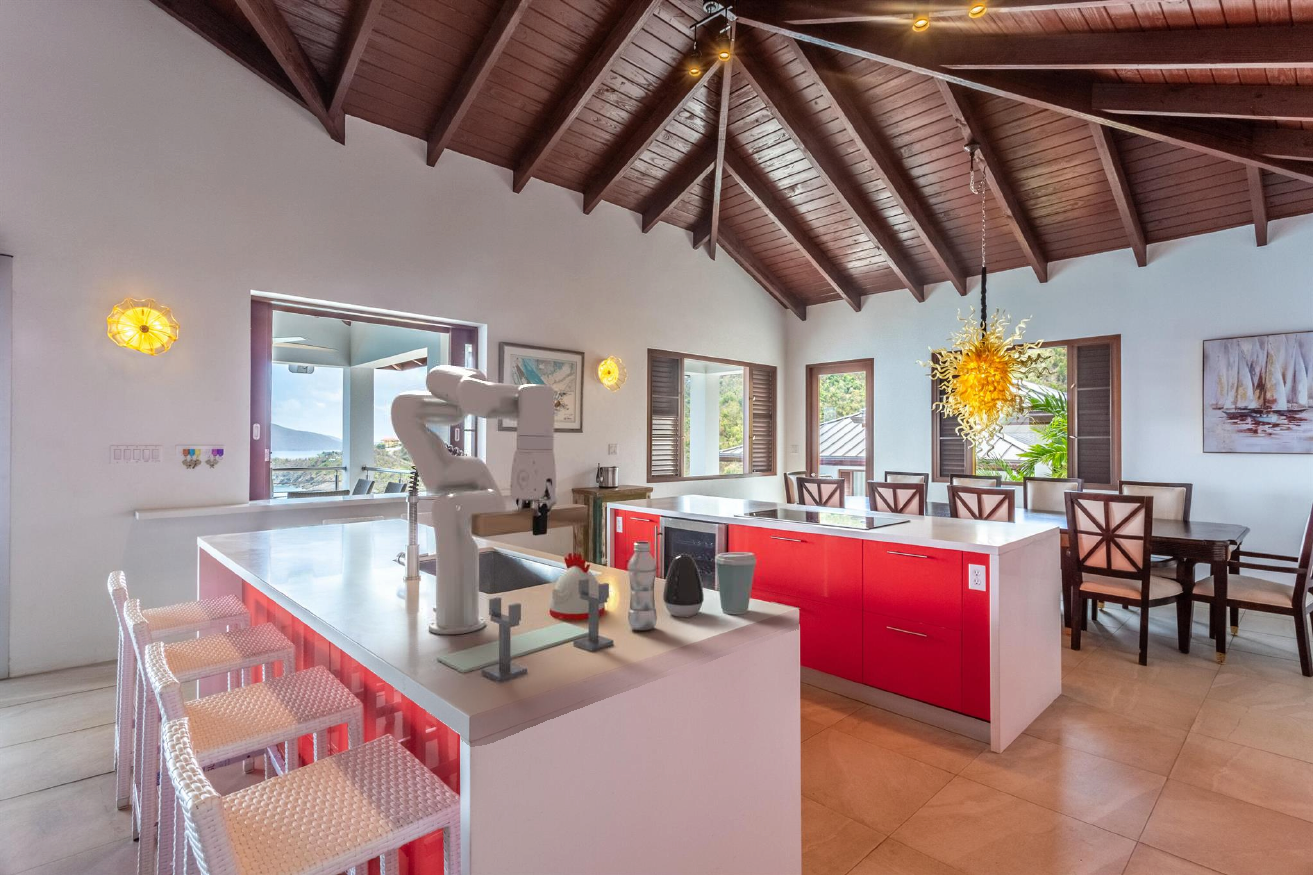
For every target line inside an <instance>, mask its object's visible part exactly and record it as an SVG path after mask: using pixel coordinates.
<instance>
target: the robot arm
mask: <svg viewBox="0 0 1313 875" xmlns="http://www.w3.org/2000/svg"><path fill="white" fill-rule="evenodd" d="M425 377H426V379H425V386H426V388H427V391H424V390H423V391H421V390H414V391H413V390H411V391H406V392H402V393H400V394H398V395H396V396H395V398H394V400H393V401H392V403H391V407H390V420H391V424H392V429H393V431H394V433H395V434H396V436H397V439H398V440H399V441H400V443H401V444H402V445H403V447H404V448H405V449H406V451H407V452H408V455H409V456H410V458H411V460H412V462H413V465H414V466H415V469H416V471H417V473H418V475H419V477H420V479H421V482H422V484H423V485H424V487H425V489H426V491H427V492H428V493H429V494H431V495H432V496H437V497H436V498H435V500H434V501H433V503H432V505H431V519H432V520H431V521H432V525H433V530H434V537H435V606H434V607H433V608H432V611H433V613H435V619H433V620H432V621H430V622H429V624H428V630H429V632H431V633H434V634H438V635H462V634H468V633H472V632H476V631H479V630H480V629H483V628H484V627H485V626H486V618H485V617H483V616H481V615H479V614H480V613H479V612H480V611H479V610H480V609H479V603H480V602H479V601H480V600H479V598H480V597H479V596H480V589H479V588H480V581H479V580H480V573H479V572H480V570H479V569H480V562H479V561H480V559H479V558H480V552H479V547H478V544H477V542H476V541H475V539H474V538H473V536H472V534H471V525H472V513H483V512H494V511H505V510H507V504H506V501H505V498H504V496H503V493H502V492H501V489H500V488H499V486H498V484H497V482H496V480H495V478H494V477H493V475H492V473H491V471H490V469H489V468H488V466H487V464H486V463H485V462H484V461H483V460H482V459H480V458H479V457H476V456H471V455H455V454H451V453H450V451H449V449H448V448H447V445H446V443H445V442H444V440H443V439H442V438H441V436H440V435H439V434H437V433H436V432H435V431H433V430H432V429H431V428H429V427H428V426H435V427H436V426H437V427H438V426H439V427H440V426H442V427H443V426H444V427H452V426H457V425H459V424H461V423H462V422H463V421H464V420H465V419H466V418H467V417H468V416H469V415H472V416H474V417H478V418H481V419H488V420H490V419H491V420H510V421H511V420H512V421H516V449H515V451H514V454H513V459H512V465H511V473H510V486H509V487H510V490H509V493H510V496H511V497H512V498H513V500H514V501H515V503H516V505H517V509H527V508H533V505H534V508H535V515H536V516H533V531H532V535H533V536H544V535H546V534H548V529H547V515H549V511H550V510H551V508H552V507H553V506H556V504H557V503H558V501H557V497H556V490H557V489H556V488H557V473H556V471H557V470H556V460H555V453H554V447H555V446H554V444H555V443H554V440H555V410H556V406H555V405H556V401H555V400H556V391H555V389H554V388H553V387H552V386H550V385H547V384H537V383H536V384H534V383H533V384H531V383H529V384H523V385H520V384H512V383H511V384H510V383H500V382H489V380H488V378H487V377H486V375H485V373H483V372H482V371H481V370H479V369H477V368H472V367H464V366H455V365H439V366H436V367H434V368H432V369H430V371H429V372H428V373H427V375H426V376H425ZM541 504H542V505H541ZM528 532H530V531H528Z"/></svg>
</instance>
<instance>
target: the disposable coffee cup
mask: <svg viewBox="0 0 1313 875" xmlns="http://www.w3.org/2000/svg"><path fill="white" fill-rule="evenodd" d="M714 561H715V570H716V576H717V584H718V585H717V586H718V592H719V599H720V600H719V601H720V608H721V610H722V612H723V613H725V614H730V615H744V614H747V612H748V609H749V606H750V600H751V595H752V594H751V593H752V586H753V582H754V581H753V580H754V574H755V567H756V564H757V558H756V557H755V553H754V552H743V551H742V552H741V551H739V552H737V551H736V552H723V553H722V552H721V553H717V555H716V556H715V557H714Z"/></svg>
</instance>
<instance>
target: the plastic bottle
mask: <svg viewBox="0 0 1313 875" xmlns="http://www.w3.org/2000/svg"><path fill="white" fill-rule="evenodd" d="M633 543H634V546H633V551H634V554H633V555H632V556H631V558H629V561H628V563H627V570H628V576H629V585H630V598H629V599H630V601H629V609H628V613H627V614H628V616H627V620H628V625H629V627H630V629H632V630H636V631H650V630H652V629H654V628H655V626H656V625H657V620H658V616H657V610H656V605H655V601H656V600H655V579H656V573H657V564H656V561H655V559H654V557H653V556H652V555H651V553H650V552H651V551H652V550H651V542H650V541H645V540H644V541H635V542H633Z"/></svg>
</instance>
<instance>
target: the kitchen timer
mask: <svg viewBox="0 0 1313 875" xmlns="http://www.w3.org/2000/svg"><path fill="white" fill-rule="evenodd" d="M577 553H578V552H576V553H573V554H572V552H570V553H568V556H565V557H564V562H565V563H564V564H565V566H566V570H565V571H564V572H563V573H562V574H561V575H560V577H558V580H557V581H556V584H555V585H554V588H553V589H552V591H551V594H552V595H551V597H550V601H549V616H550V615H551V616H550V617H552V618H554V619H558V620H562V621H563V620H564V621H585V620H589V601H587V600H583V599H580V594H579V580H580V579H585V578H587V579H589V593H592V594H595V595H599V584H601V583H600V582H598V580H597V578H596V576H595V575H594V574H593V572H591V571H590V566H591V564H590V563H589V564H586V562H587V559H586V558H582V553H579V554H577ZM605 604H606V603H603V604H599V617H601V616H603V615H604V614H605V611H606V608H605V607H606V606H605Z"/></svg>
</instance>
